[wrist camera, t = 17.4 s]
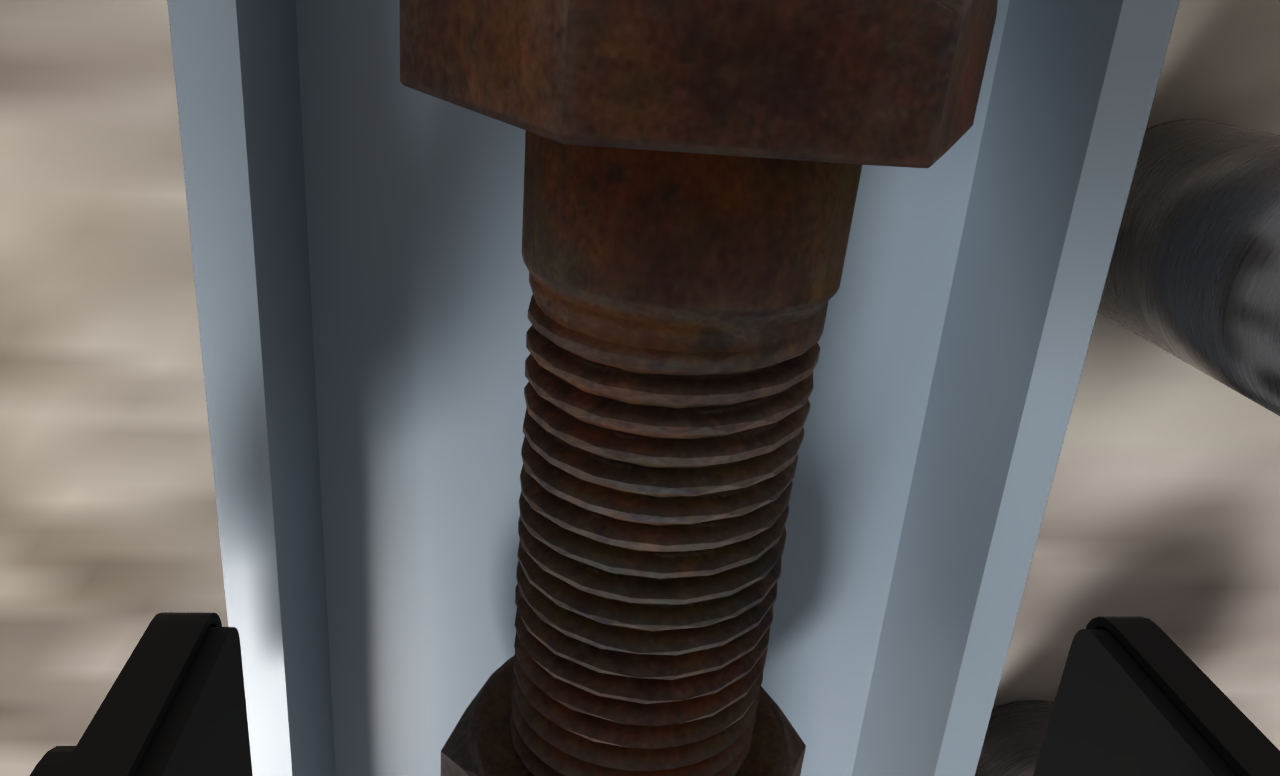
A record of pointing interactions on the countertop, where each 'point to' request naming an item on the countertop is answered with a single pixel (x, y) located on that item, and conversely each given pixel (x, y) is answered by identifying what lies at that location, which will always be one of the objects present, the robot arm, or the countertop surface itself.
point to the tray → (495, 380)
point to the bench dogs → (1185, 301)
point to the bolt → (675, 338)
